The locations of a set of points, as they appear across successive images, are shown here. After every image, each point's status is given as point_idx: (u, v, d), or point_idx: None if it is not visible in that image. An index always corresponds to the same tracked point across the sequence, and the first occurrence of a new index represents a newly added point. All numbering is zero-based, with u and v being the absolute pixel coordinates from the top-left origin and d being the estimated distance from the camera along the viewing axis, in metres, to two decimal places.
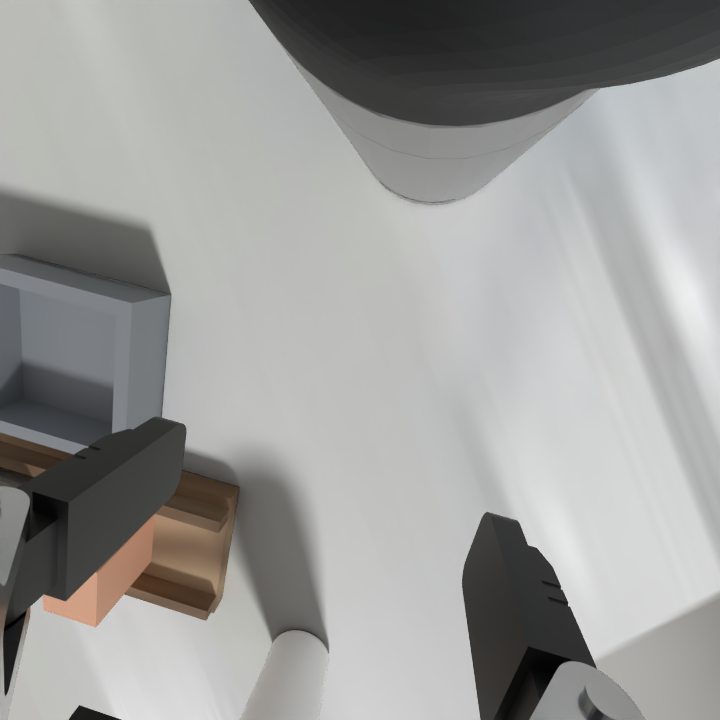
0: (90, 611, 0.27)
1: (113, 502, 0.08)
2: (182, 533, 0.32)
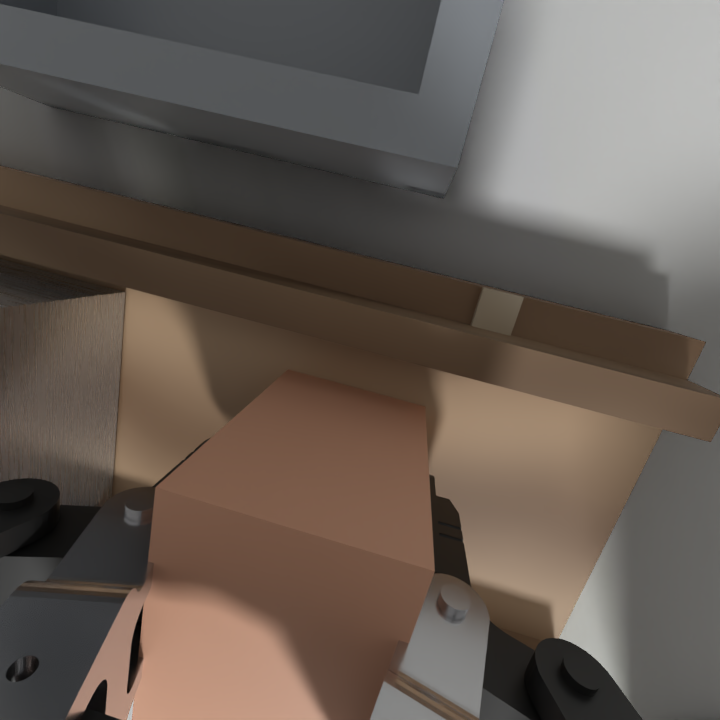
0: None
1: None
2: (498, 466, 0.11)
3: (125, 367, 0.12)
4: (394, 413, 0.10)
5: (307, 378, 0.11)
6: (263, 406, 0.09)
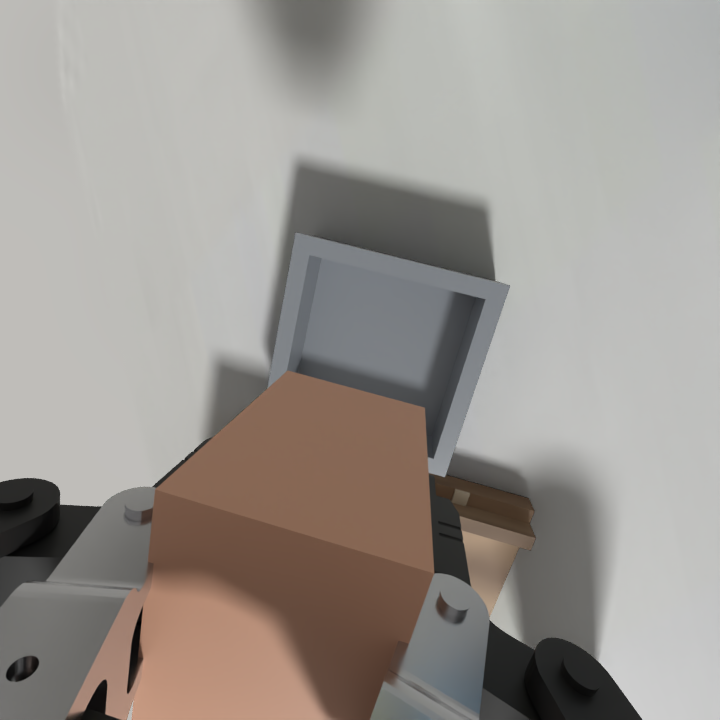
0: None
1: None
2: None
3: None
4: (394, 414, 0.10)
5: (307, 379, 0.11)
6: (263, 407, 0.09)
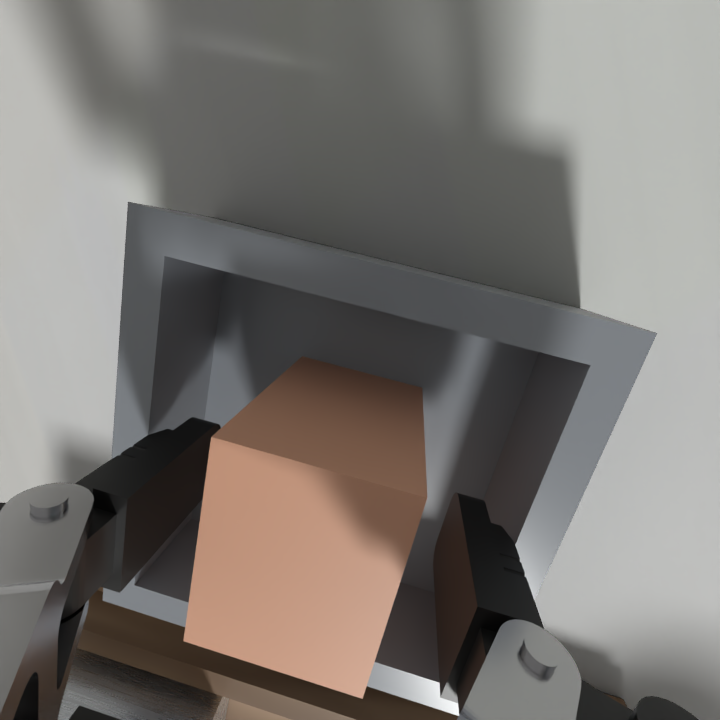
0: (356, 645, 0.08)
1: (161, 499, 0.08)
2: None
3: (230, 705, 0.17)
4: (395, 392, 0.12)
5: (319, 363, 0.13)
6: (285, 384, 0.10)
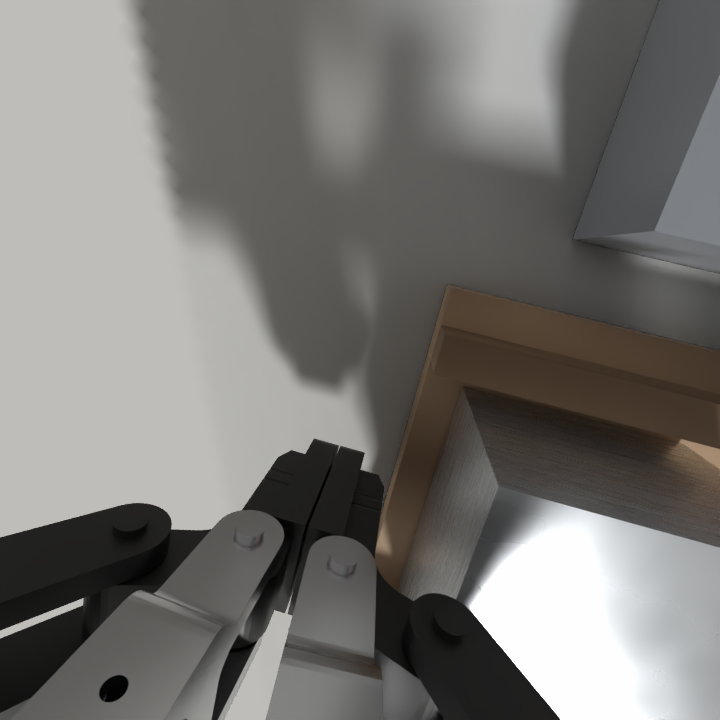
0: None
1: None
2: None
3: None
4: None
5: None
6: None
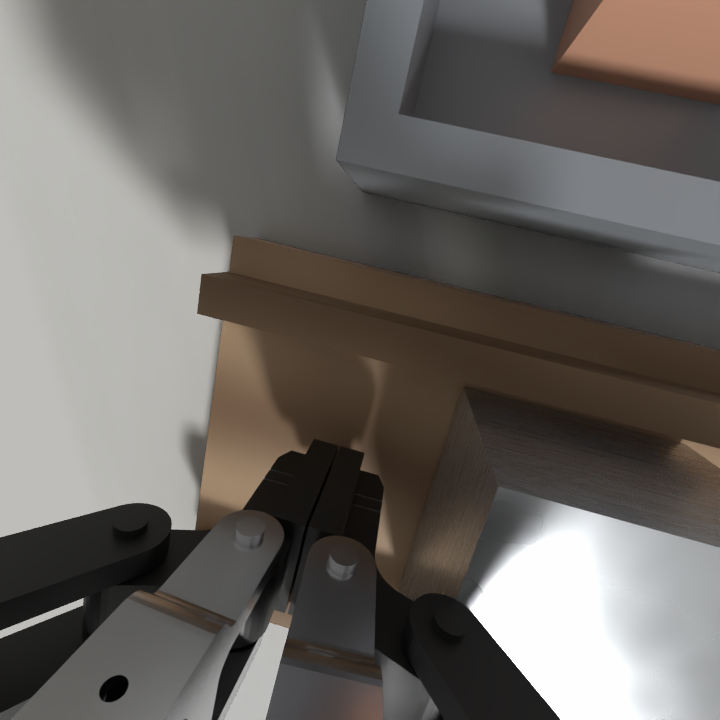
0: None
1: None
2: None
3: (438, 456, 0.12)
4: None
5: None
6: None
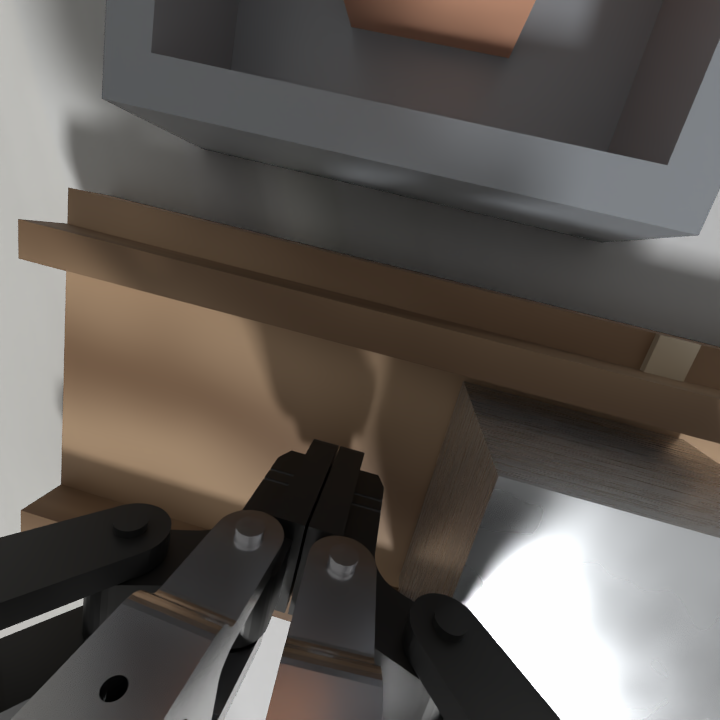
0: None
1: None
2: None
3: (275, 405, 0.12)
4: None
5: None
6: None
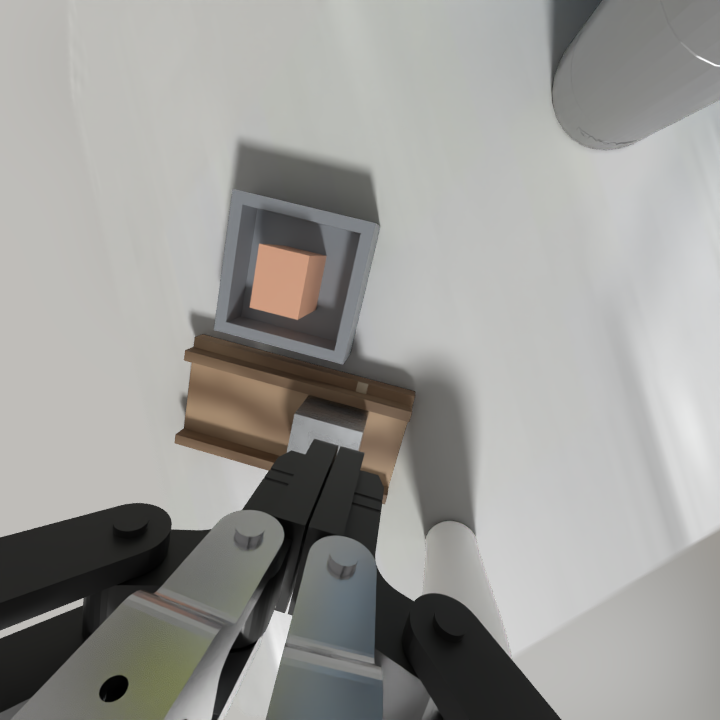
0: (295, 302, 0.31)
1: None
2: (366, 430, 0.39)
3: (256, 401, 0.40)
4: (315, 253, 0.35)
5: (290, 247, 0.36)
6: (277, 245, 0.33)
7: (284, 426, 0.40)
